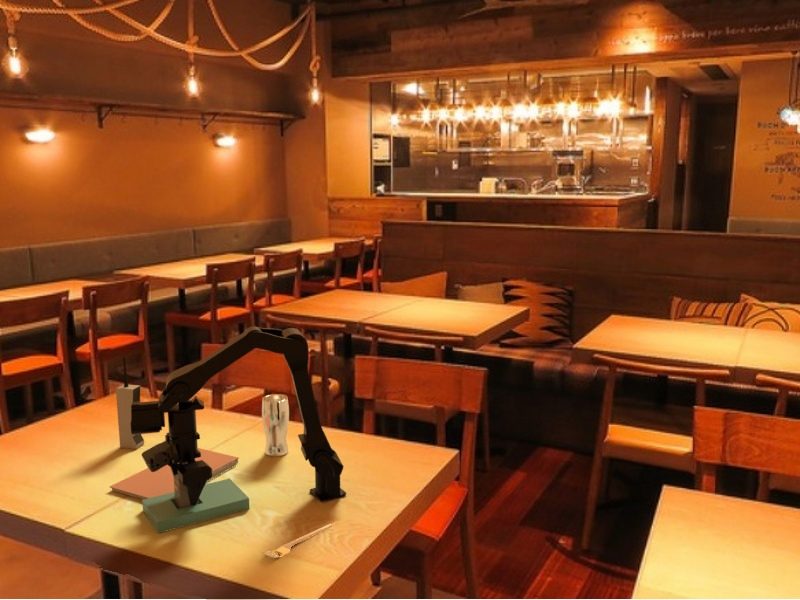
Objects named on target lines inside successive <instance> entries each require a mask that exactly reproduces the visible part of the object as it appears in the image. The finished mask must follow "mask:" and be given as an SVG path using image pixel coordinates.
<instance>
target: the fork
mask: <svg viewBox="0 0 800 600" xmlns="http://www.w3.org/2000/svg"><path fill="white" fill-rule="evenodd" d="M328 526H331V523H329V524H326V525H324V526H322V527H320V528H318V529H316V530H313V531H311V532H308V533H307V534H305V535H302V536H301V537H298V538H296V539H294V540H292V541H289V542H288V543H285V544H282V545H281V546H280V547H285V548H287V549H291V550H292V548H293V547H295V546H296V545H295V544H297V543H299V542H301V541H303V540H305V539H307V538H308V537H311V536H312V535H314V534H316V533H318V532H320V531H322V530H323V531H325V530H327V529H328V528H327V527H328ZM331 527H332V526H331ZM326 528H327V529H326ZM324 529H325V530H324ZM323 531H322V532H323ZM320 533H321V532H320ZM318 534H319V533H318ZM316 535H317V534H316ZM311 538H312V537H311ZM307 540H308V539H307ZM305 541H306V540H305ZM303 542H304V541H303ZM301 543H302V542H301ZM299 544H300V543H299ZM294 545H295V546H294ZM297 545H298V544H297ZM292 546H293V547H292ZM291 547H292V548H291ZM270 551H271V550H270ZM270 551H260V553H261V554H263V555H265V556H267V557H270V558H272V559H273V558H274V559H279V558H278V557H280V556H279V555H277V554H278V553H277V554H274V553H275V552H274V553H272V552H270ZM272 554H273V555H272ZM275 555H277V556H275Z"/></svg>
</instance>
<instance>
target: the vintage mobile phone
mask: <svg viewBox="0 0 800 600" xmlns="http://www.w3.org/2000/svg"><path fill="white" fill-rule="evenodd" d="M122 363H123V365H122V366H123V384H122V385H121V386H118V387H116V388H115V395H116V407H117V408H116V409H117V421H118V422H117V424H118V435H119V448H122V449H128V450H129V449H132V450H137V449H139V448H140V447H142V446H144V444H145V439H144V437H143V434H138V435H132V433H131V404H132V402H141V385H140V384H139V385H138V384H129V383H128V382H129V381H128V374H127V361H126V356H123V357H122Z"/></svg>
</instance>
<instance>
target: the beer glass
mask: <svg viewBox="0 0 800 600" xmlns="http://www.w3.org/2000/svg"><path fill="white" fill-rule="evenodd" d="M261 399H262V402H261V403H262V404H261V417H262V425H263V429H264V435H265V448H264V454H265V455H266V456H268V457H272V458H273V457H276V458H278V457H283V456H285V455H287V454H288V453H289V447H288V442H287V436H288V435H287V434H288V429H289V428H288V427H289V421H290V406H289V400H288V399H289V398H288V396H287V395H286V394H281V393H279V394H278V393H277V394H268V395H265V396H263V397H262V398H261Z"/></svg>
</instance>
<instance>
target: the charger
mask: <svg viewBox="0 0 800 600" xmlns="http://www.w3.org/2000/svg"><path fill="white" fill-rule="evenodd" d="M178 479H179V477H178V474H177V475H174V492H175V506H176V508H177V509H182V508H185V507H189V506H191V505H190V501H189V497H188V493H187V489H186V486H185V485H183V484H182V483H181V482H180V481H179V480H178ZM197 504H199V499H198V501H197ZM197 504H196V505H197Z"/></svg>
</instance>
